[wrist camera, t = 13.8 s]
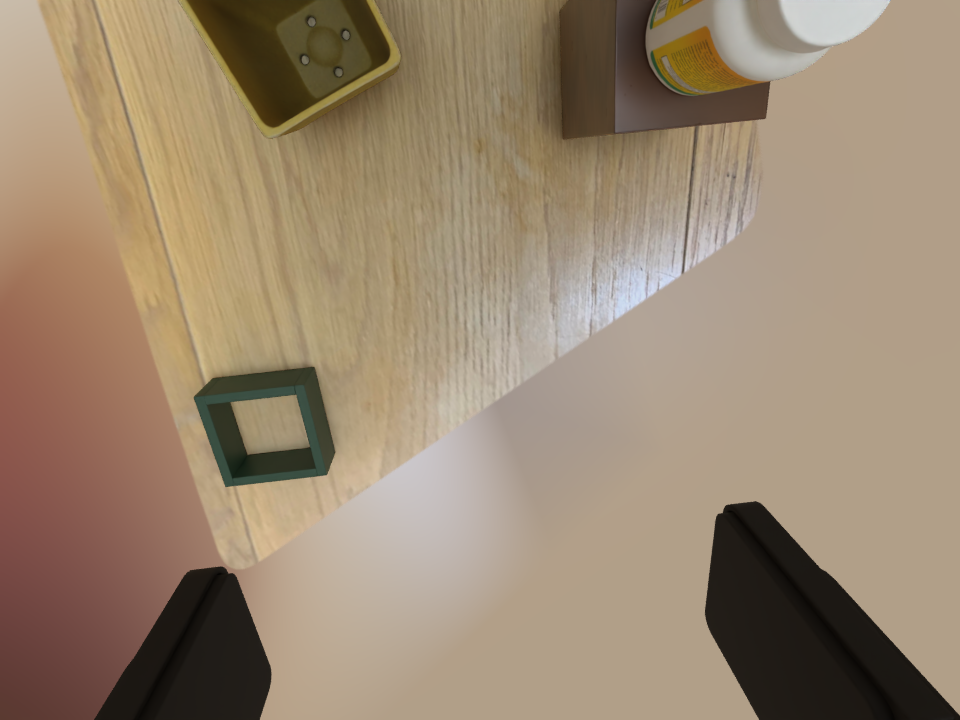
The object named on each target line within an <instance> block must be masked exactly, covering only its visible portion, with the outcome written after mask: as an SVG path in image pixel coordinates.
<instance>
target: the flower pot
mask: <svg viewBox="0 0 960 720" xmlns="http://www.w3.org/2000/svg"><path fill="white" fill-rule="evenodd" d="M178 2H179V3H180V5H181V7H182V8H183V10H184V11H185V13H186V14H187V16H188V17H189V19H190V21H191V22H192V24H193V25H194V27H195V28H196V30H197V31H198V33H199V35H200V36H201V38H202V39H203V41H204V42H205V44H206V46H207V47H208V49H209V51H210V52H211V54H212V55H213V57H214V58H215V60H216V62H217V63H218V65H219V66H220V68H221V70H222V71H223V73H224V75H225V76H226V78H227V79H228V81H229V82H230V84H231V85H232V87H233V89H234V90H235V92H236V94H237V95H238V97H239V99H240V100H241V102H242V103H243V105H244V107H245V108H246V110H247V111H248V113H249V114H250V116H251V118H252V119H253V121H254V123H255V124H256V126H257V127H258V128H259V130H260V131H261V133H262V134H263V135H264V136H265V137H266V138H268V139H273V138H276V137H279V136H282V135H285V134H288V133H291V132H294V131H297V130H299V129H301V128H303V127H305V126H306V125H308V124H309V123H311V122H313V121H314V120H316V119H318V118H319V117H321V116H322V115H324V114H326V113H327V112H329V111H331V110H332V109H334V108H336V107H337V106H339V105H341V104H342V103H344V102H346V101H348V100H349V99H351V98H353V97H355V96H356V95H358V94H360V93H362V92H363V91H365V90H367V89H369V88H370V87H372V86H374V85H376V84H377V83H379V82H381V81H383V80H385V79H386V78H388V77H390V76H391V75H393V74H394V73H395V72H396V71H397V70H398V68H399V65H400V61H401V54H400V50H399V48H398V46H397V44H396V42H395V40H394V38H393V36H392V34H391V32H390V30H389V28H388V26H387V24H386V22H385V20H384V18H383V16H382V14H381V12H380V10H379V8H378V6H377V4H376V2H375V0H178ZM309 17H313V18H314V19H315V21H316V24H315V26H314V27H310V26H309V25H308V23H307V19H308V18H309ZM343 30H347V31H348V32H349V33H350V38H349V39H348V40H345V39H343V38H342V35H341V33H342V31H343ZM302 55H306V56H308V58H309V63H308V64H306V65H304V64H303V63H302V62H301V56H302ZM337 67H338V68H341V69H342V71H343V74H342V76H341V77H337V76H336V75H335V72H334V71H335V69H336V68H337Z"/></svg>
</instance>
